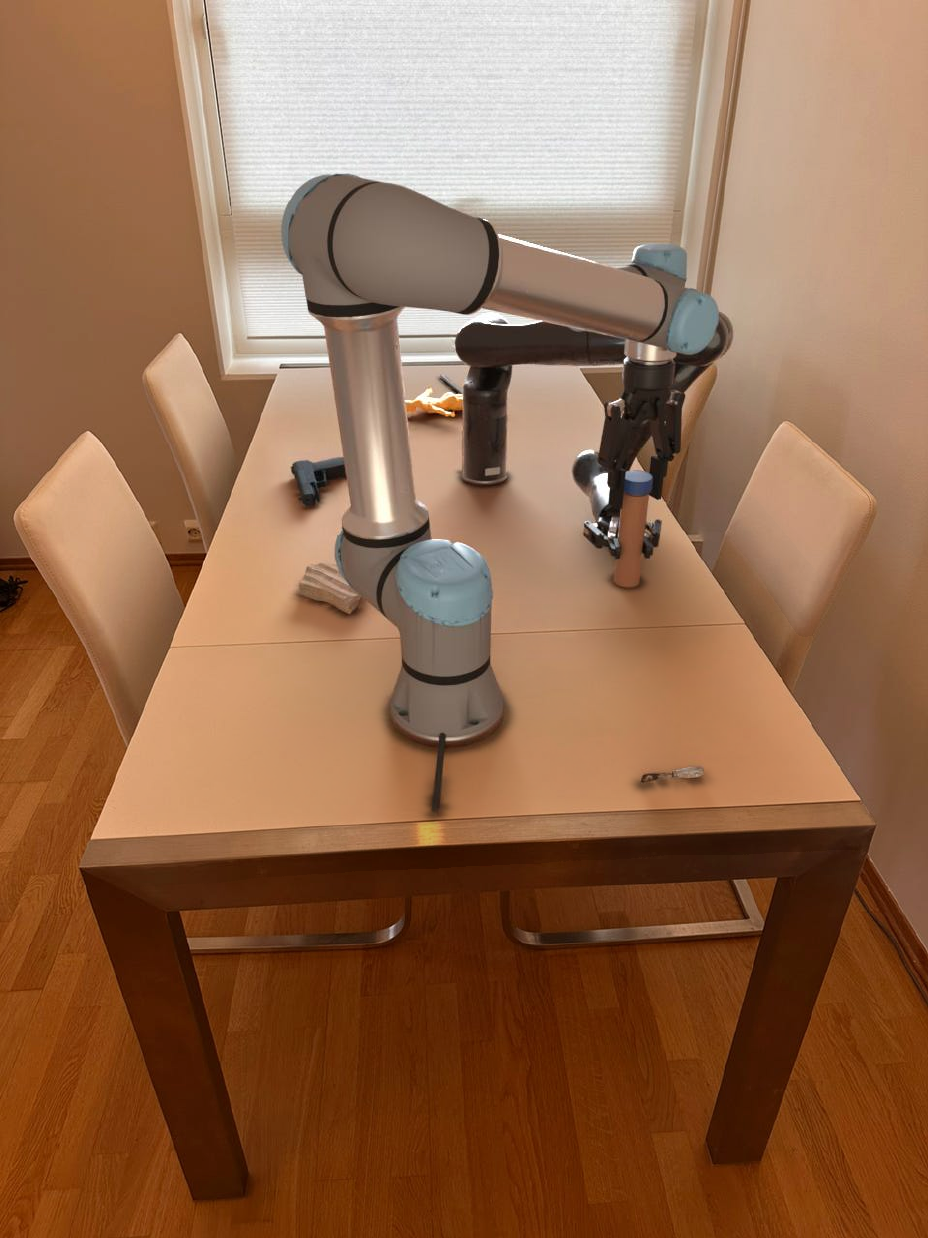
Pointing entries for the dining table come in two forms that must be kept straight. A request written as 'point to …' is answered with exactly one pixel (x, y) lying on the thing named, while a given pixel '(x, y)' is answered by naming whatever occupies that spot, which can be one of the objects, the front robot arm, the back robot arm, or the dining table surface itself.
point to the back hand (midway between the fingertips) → (633, 553)
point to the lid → (638, 482)
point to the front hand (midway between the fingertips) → (634, 501)
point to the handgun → (316, 477)
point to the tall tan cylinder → (631, 539)
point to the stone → (328, 587)
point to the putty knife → (674, 774)
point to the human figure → (436, 403)
